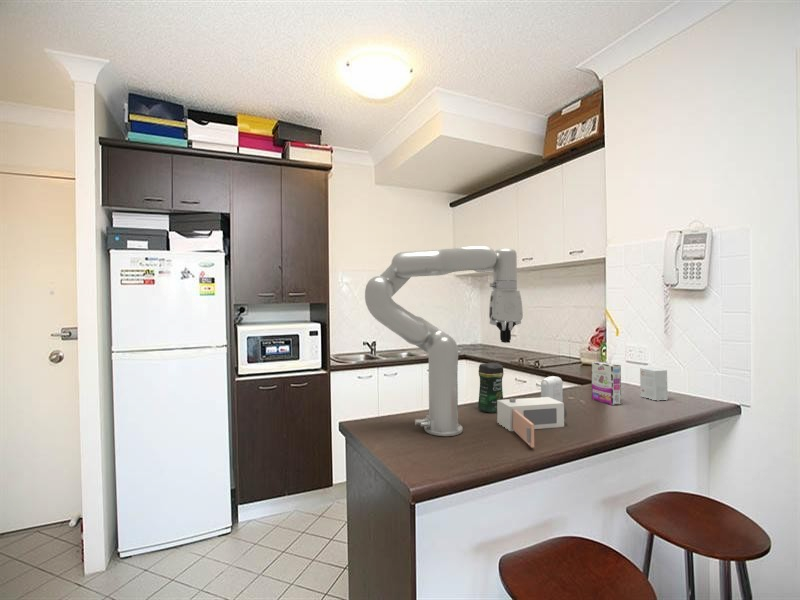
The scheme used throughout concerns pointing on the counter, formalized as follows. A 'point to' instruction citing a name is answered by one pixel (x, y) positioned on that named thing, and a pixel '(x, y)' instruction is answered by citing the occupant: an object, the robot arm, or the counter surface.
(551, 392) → the white rounded block
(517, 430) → the side door
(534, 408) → the white box
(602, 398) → the candy bar box
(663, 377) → the small box
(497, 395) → the coffee jar
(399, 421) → the counter surface
